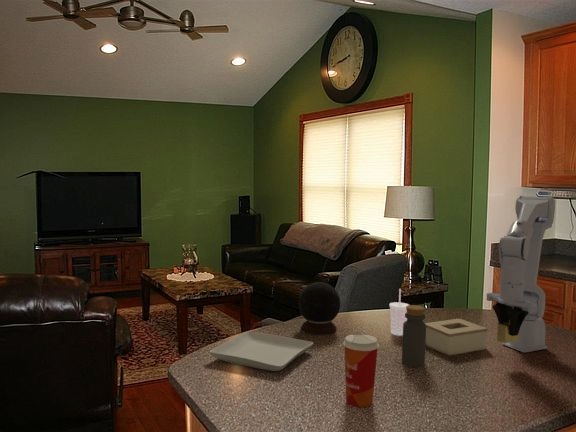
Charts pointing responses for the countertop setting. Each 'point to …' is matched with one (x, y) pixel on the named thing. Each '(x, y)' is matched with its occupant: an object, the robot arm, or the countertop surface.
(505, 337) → the block
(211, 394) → the countertop surface
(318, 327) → the black ball on stand
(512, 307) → the robot arm
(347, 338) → the paper cup
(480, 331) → the cream box with slot
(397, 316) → the beverage cup
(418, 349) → the bottle
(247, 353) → the salad plate
